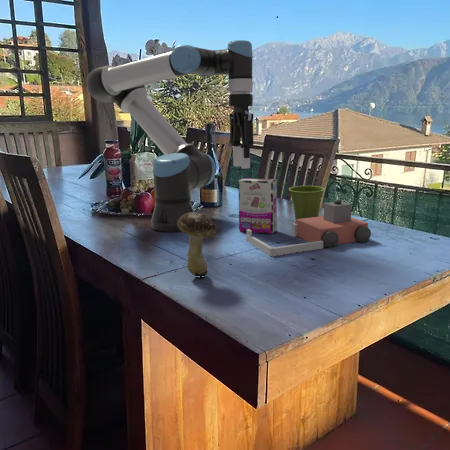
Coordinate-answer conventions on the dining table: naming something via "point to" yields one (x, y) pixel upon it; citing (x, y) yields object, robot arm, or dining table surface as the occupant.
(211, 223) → the mushroom
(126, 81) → the robot arm
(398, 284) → the dining table surface
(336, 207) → the toy tractor
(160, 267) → the dining table surface
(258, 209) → the candy bar box
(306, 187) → the plant pot
